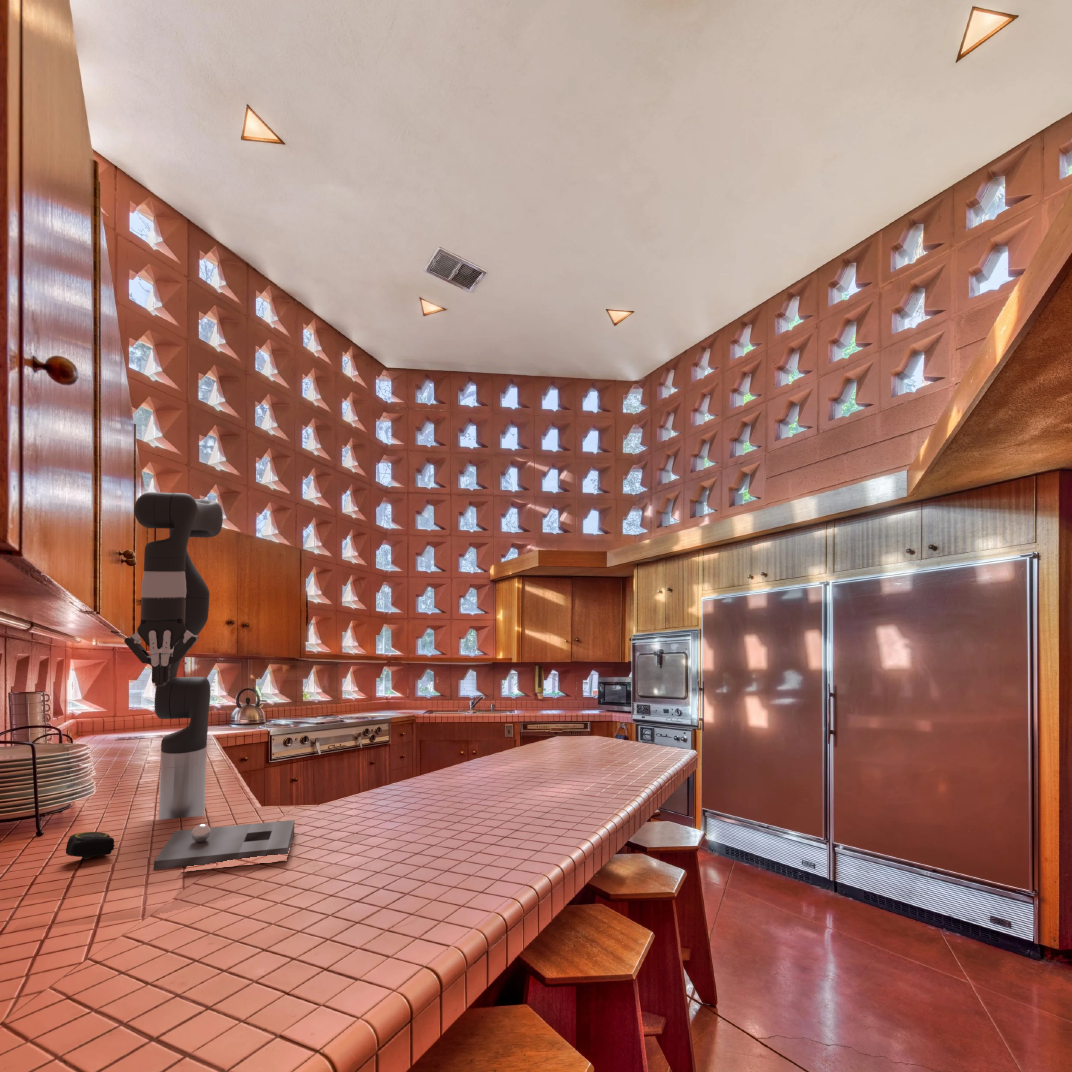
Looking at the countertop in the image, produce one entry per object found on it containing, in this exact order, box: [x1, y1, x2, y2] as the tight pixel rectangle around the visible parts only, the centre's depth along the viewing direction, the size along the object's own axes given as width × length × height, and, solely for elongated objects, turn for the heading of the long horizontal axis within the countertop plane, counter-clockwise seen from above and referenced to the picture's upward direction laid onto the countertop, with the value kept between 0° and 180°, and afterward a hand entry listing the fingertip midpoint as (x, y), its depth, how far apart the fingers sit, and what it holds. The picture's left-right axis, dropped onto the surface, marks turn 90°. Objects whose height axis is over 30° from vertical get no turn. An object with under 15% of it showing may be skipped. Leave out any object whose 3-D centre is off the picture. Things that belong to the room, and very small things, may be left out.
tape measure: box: [65, 831, 116, 860], centre depth 121 cm, size 7×7×4 cm
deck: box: [153, 819, 295, 871], centre depth 124 cm, size 22×14×2 cm, turn 105°
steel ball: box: [192, 823, 211, 842], centre depth 123 cm, size 3×3×3 cm
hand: (160, 685), depth 125 cm, fingers closed
